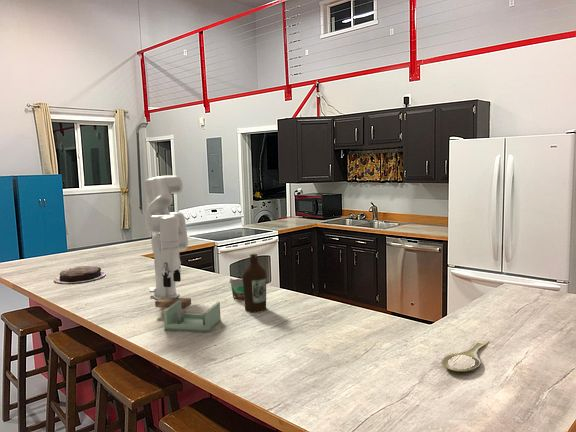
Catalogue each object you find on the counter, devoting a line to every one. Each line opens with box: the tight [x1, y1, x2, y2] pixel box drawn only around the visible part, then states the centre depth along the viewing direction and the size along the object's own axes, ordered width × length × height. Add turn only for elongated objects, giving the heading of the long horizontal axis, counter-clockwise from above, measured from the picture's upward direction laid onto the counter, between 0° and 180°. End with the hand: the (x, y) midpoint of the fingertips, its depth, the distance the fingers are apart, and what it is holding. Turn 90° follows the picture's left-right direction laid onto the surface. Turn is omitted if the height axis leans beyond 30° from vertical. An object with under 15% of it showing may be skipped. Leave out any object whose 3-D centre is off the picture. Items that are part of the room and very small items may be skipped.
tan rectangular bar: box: [161, 307, 187, 316], centre depth 206 cm, size 10×3×4 cm, turn 79°
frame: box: [163, 301, 221, 334], centre depth 191 cm, size 18×14×8 cm
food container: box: [229, 277, 245, 301], centre depth 226 cm, size 12×6×10 cm, turn 105°
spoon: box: [441, 338, 490, 372], centre depth 155 cm, size 35×11×2 cm, turn 141°
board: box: [154, 297, 192, 309], centre depth 205 cm, size 14×6×3 cm, turn 79°
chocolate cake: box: [53, 265, 107, 285], centre depth 277 cm, size 28×28×7 cm
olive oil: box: [241, 253, 267, 313], centre depth 209 cm, size 11×11×25 cm
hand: (172, 284), depth 204 cm, fingers open, 9 cm apart
